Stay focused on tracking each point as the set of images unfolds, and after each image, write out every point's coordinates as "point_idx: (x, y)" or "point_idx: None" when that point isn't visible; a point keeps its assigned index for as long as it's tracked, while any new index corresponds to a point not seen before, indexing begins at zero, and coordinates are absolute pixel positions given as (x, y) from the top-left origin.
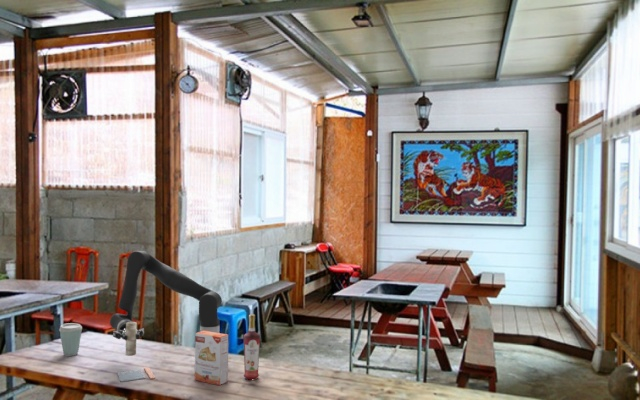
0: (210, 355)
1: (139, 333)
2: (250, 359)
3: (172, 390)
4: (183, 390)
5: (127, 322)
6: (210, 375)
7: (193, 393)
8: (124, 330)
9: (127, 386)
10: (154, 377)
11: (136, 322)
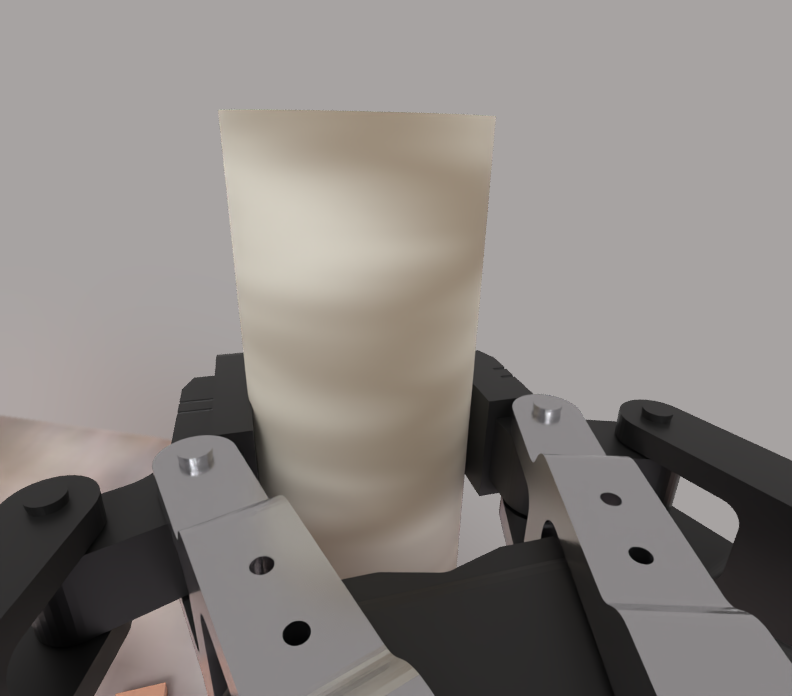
0: None
1: (145, 491)
2: None
3: (113, 470)
4: (57, 462)
5: (478, 116)
6: None
7: (37, 429)
8: (614, 489)
9: None
10: (123, 692)
11: (221, 110)
